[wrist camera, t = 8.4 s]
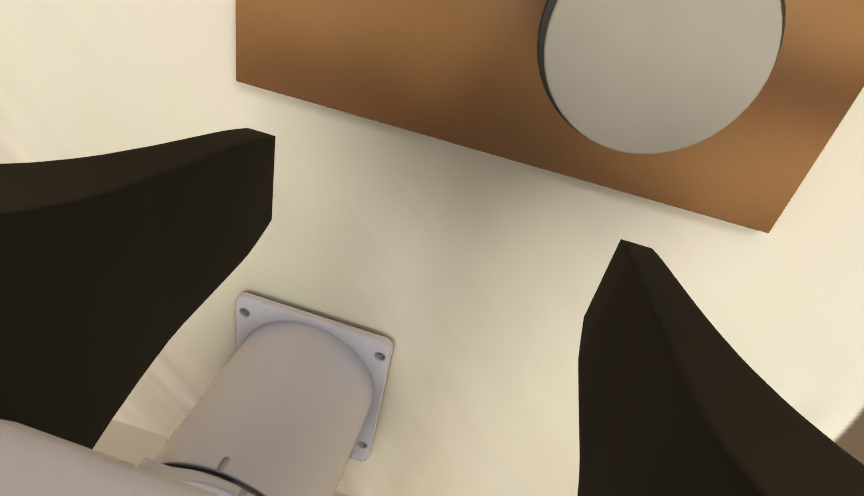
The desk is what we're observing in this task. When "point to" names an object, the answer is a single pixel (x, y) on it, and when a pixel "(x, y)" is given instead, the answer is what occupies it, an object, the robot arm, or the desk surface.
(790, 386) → the desk surface
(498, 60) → the brown wooden board
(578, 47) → the thermos cap
